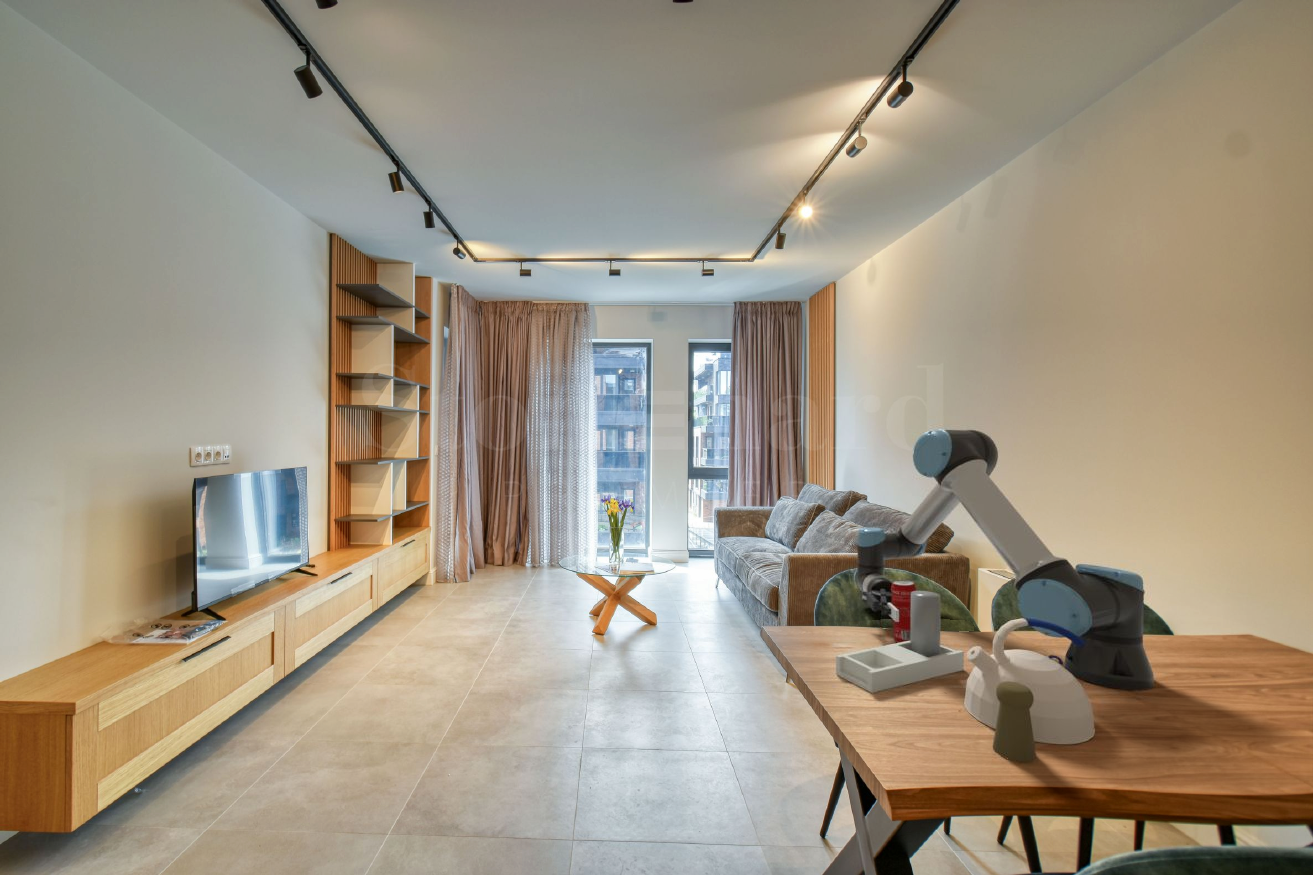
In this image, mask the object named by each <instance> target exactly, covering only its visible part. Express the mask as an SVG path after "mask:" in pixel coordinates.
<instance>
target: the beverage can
mask: <svg viewBox="0 0 1313 875" xmlns="http://www.w3.org/2000/svg"><path fill="white" fill-rule="evenodd" d="M891 582H892V586H891V593H892V605H893V606H894V607H896V608H897V609H898V610H899V622H895V621H894V620H893V619H892V621H893V622H892V624H893V639H894V642H895V643H896V642H897V643H900V642H905V641H910V639H911V592H913V591H917V587H916V585H915V581H912V580H909V579H908V580H907V579H906V580H905V579H897V580H893V581H891Z"/></svg>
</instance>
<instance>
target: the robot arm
mask: <svg viewBox="0 0 1313 875" xmlns="http://www.w3.org/2000/svg"><path fill="white" fill-rule="evenodd" d="M998 459H999V451H998V448H997V445H996V444H995V442H994V440H993V439H992V438H991V437H990V436H989V435H988V434H987V433H985V432H982V431H979V430H976V429H975V430H974V429H966V430H965V429H964V430H963V429H962V430H961V429H942V428H941V429H939V428H938V429H935V430H933V429H932V430H928V431H926V432H924V433H923V434H921V435H920V436H919V437H918V438H917V440H916V442H915V443H914V446H913V454H912V462H913V465H914V467H915V470H916V471H917V472H918V473H919V474H920V475H921V476H923V477H926V478H933V479H934V480H935V481H936V482H937V483H936V484H935V486H933V488H932V489H931V491H930V492H928V494H927V495H926V496H925V498H924V499H923V500H922V501H921V503H920V504H919V505H918V506H917V508H916V509H915V510H914V511H913V512H912V514H911V515H910V516H909V517H908V519H906V521H905V522H904V523H903V524H902V526H901V527H900V528H899V529H898V530H897V532H890V533H889V532H888V533H886V532H885V530H884V529H883V528H880V527H871V526H870V527H867V526H866V527H861V528H859V529H858V532H857V539H856V540H857V541H856V544H857V545H856V546H857V565H856V570H855V572H854V574H853V581H854V583H855V585H856V587H857V589H858V590H860V591H861V592H862V597H861V598H862V602H864V603H865V604H867V605H868V607H869V608H870V609H871V610H872V611H873V612H879V611H880V612H881V616H884V617H885V616H887V615H888V616H889V617H890V618H891V619H892V621H893V620H894V621H895V622H899V610H898V609H897V608H896V607H894V606H893V605H892V593H891V586H892V582H893V581H891V580H889V578H887V577H886V576H885V565H886V563H885V561H886V560H892V559H893V560H894V559H904V558H905V559H907V558H909V559H910V558H915V557H920V556H922V555H923V554H924V553H925V551H926V547H927V540H928V539H929V537H930V536H932V534H933V533H934V532H935V531H936V530H937V529H938V527H940V525H941V524H942V523H943V522H944V521H945V520H946V519H947V517H948V516H949V515H950V514H951V513H952V512H953V510H955V508H957V506H959V504H960V503H961V505H962V507H963V508H964V510H966V512H967V513H968V514H969V515H970V517H971V519H972V520H973V521H974V523H975V524H976V525H977V527H979V529H980V530H981V532H982V533H983V534H984V536H985V537H986V538H987V540H988V541H989V542H990V543H991V544H990V545H992V546H993V548H994V549H995V551H996V552H997V553H998V554H999V555H1000V557H1001V558H1002V560H1003V561H1004V562H1005V563H1006V565H1007V566H1008V568H1009V569H1010V570H1011V572H1012V573H1013V575H1014V576H1015V579H1014V585H1013V586H1014V588H1015V589H1016V591H1017V601H1018V603H1017V607H1018V610H1019V613H1020V614H1021V616H1022V618H1029V619H1037V620H1041V621H1046V622H1050V623H1053V624H1055V625H1058V626H1061V627H1063V628H1065V629H1067V630H1069V631H1071V632H1073V633H1074V634H1075V635H1077V636H1078V637H1080V638H1081V639H1082V640H1083V641H1084V642H1085V643H1086V646H1077V645H1075V644H1074V643H1073V642H1072V641H1071V640H1070V643H1069V646H1068V649H1067V651H1066V653H1065V655H1064V668H1065V669H1066V670H1067V671H1069V672H1070V673H1071V674H1072V675H1073V676H1074V677H1075V678H1076V677H1077V678H1079V679H1081V680H1083V681H1086V682H1089V683H1092V684H1097V685H1099V686H1103V687H1109V688H1114V689H1119V690H1129V691H1131V690H1132V691H1142V690H1144V691H1145V690H1148V689H1151V688H1153V687H1154V680H1155V679H1154V678H1155V677H1154V672H1153V669H1152V666H1151V663H1150V661H1149V658H1148V655H1147V653H1146V650H1145V647H1144V610H1145V609H1144V604H1145V603H1144V600H1145V599H1144V597H1145V589H1144V580H1143V577H1142V576H1141V575H1139V574H1138V573H1136V572H1132V571H1129V570H1123V569H1120V568H1119V569H1118V568H1113V567H1108V566H1101V565H1095V564H1086V563H1078V564H1076V565H1075V568H1074V566H1073V565H1072V564H1071V563H1070V562H1069V560H1068V559H1067V558H1064V557H1059V556H1055V555H1054V554H1053V553H1052V552H1051V551H1050V549H1049V548H1048V546H1046V544H1045V543H1044V542H1043V541H1042V540H1041V538H1040V537H1039V536H1038V535H1037V533H1036V532H1035V531H1034V530H1033V528H1032V527H1031V526H1030V524H1028V523H1027V521H1026V520H1025V519H1024V517H1023V516H1022V515H1021V514H1020V513H1019V511H1018V510H1017V509H1016V508H1015V507H1014V505H1013V504H1012V503H1011V501H1010V500H1009V499H1008V498H1007V497H1006V496H1005V494H1004V493H1003V492H1002V491H1001V490H1000V488H999V487H998V485H996V484H995V482H994V481H993V479H991V477H990V476H991V474H992V473H993V471H994V470H995V468H996V467H997V464H998ZM1031 628H1033V629H1034V630H1035V631H1037V632H1039V633H1041V634H1043V635H1045V636H1048V637H1051V638H1058V639H1059V638H1060V639H1061V638H1062V639H1063V638H1066V637H1065V636H1063V635H1061V634H1059V633H1057V632H1054V631H1051V630H1048V629H1045V628H1041V627H1033V626H1031Z"/></svg>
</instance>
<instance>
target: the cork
mask: <svg viewBox="0 0 1313 875" xmlns="http://www.w3.org/2000/svg"><path fill="white" fill-rule="evenodd" d="M996 695H997V698H998V700H999V702H1000V705H999V711H998V717H997V723H996V729H994V731H995V732H994V738H993V743H992V750H993V751H994V752H995V753H996V754H997V753H998V754H997V755H999V756H1000V755H1001V756H1000V757H1002V756H1003V757H1002V758H1004V757H1006V758H1005V759H1007V758H1008V759H1007V760H1009V759H1010V760H1009V761H1014V762H1019V763H1026V764H1027V763H1033V762H1035V761H1036V759H1037V754H1036V747H1035V741H1034V738H1033V731H1032V724H1031V717H1030V708H1031V707H1032V704H1033V701H1034V697H1033V694H1032V692H1031V690H1030V689H1029V688H1028V687H1027V686H1025V685H1023V684H1020V683H1017V682H1011V681H1005V682H1001V683H1000V684H999V685H998V686H997V689H996Z"/></svg>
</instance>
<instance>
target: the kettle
mask: <svg viewBox="0 0 1313 875" xmlns="http://www.w3.org/2000/svg"><path fill="white" fill-rule="evenodd" d="M1032 626H1033V627H1041V628H1045V629H1048V630H1051V631H1054V632H1057V633H1059V634H1061V635H1063V636H1065V637H1064V638H1066V639H1068V640H1070V642H1071V641H1072V642H1073V643H1074V644H1075V645H1077V646H1086V643H1085V642H1084V641H1083V640H1082V639H1081V638H1080V637H1078V636H1077V635H1075V634H1074V633H1073V632H1071V631H1069V630H1067V629H1065V628H1063V627H1061V626H1058V625H1055V624H1053V623H1050V622H1046V621H1041V620H1037V619H1029V618H1023V617H1022V618H1018V619H1012V620H1009V621H1008V622H1005V624H1002V625H1001V626H1000V628H999V629H998V630H997V632H995V634H994V637H993V640H992V654H988V653H987V652H986V651H985V650H984V649H983V648H982V646H978V645H976V646H975V645H973V646H972V647H971V648H969V650H968V651H967V653H966V658H967V661H968V662H970V663H972V664H973V665H974V666H975V667H973V669H972V671H971V672H970V674H969V676H968V678H967V680H966V686H965V694H964V700H963V702H964V704H963V705H964V707H965V709H966V711H967V712H968V713H969V715H971V716H972V717H973V718H975V719H976V720H977V721H979V722H980V723H982V724H984V725H986V726H987V727H989V728H991V729H993V730H995V729H996V723H997V717H998V711H999V705H1000V702H999V700H998V698H997V695H996V689H997V686H998V685H999V684H1000V683H1001V682H1005V681H1011V682H1017V683H1020V684H1023V685H1025V686H1027V687H1028V688H1029V689H1030V690H1031V692H1032V694H1033V697H1034V701H1033V704H1032V707H1031V708H1030V717H1031V724H1032V731H1033V738H1034V743H1035V742H1036V743H1041V744H1042V743H1043V744H1049V745H1061V746H1062V745H1077V744H1081V743H1085V742H1088V741H1089V740H1091V739H1092V738H1093V737H1094V736H1095V732H1096V729H1095V723H1094V722H1095V721H1094V714H1093V713H1094V712H1093V706H1092V703H1091V702H1090V699H1089V697H1088V695H1087V692H1086V691H1085V689H1084V687H1083V685H1081V683H1080V682H1079V681H1078V679H1077V678H1076V676H1074V675H1072V674H1071V673H1070V672H1069V671H1067V670H1066V669H1065V666H1063V665H1064V661H1063V660H1062V658H1060V656H1057V655H1053V654H1050V655H1048V656H1045V655H1043V654H1040V653H1038V652H1036V651H1032V650H1028V649H1005V644H1006V640H1007V637H1008V636H1010V634H1011V633H1012V632H1013V631H1015V630H1017V629H1018V628H1021V627H1032ZM1033 627H1032V628H1033ZM1055 659H1057V660H1058V662H1057V661H1056V660H1055Z"/></svg>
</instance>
